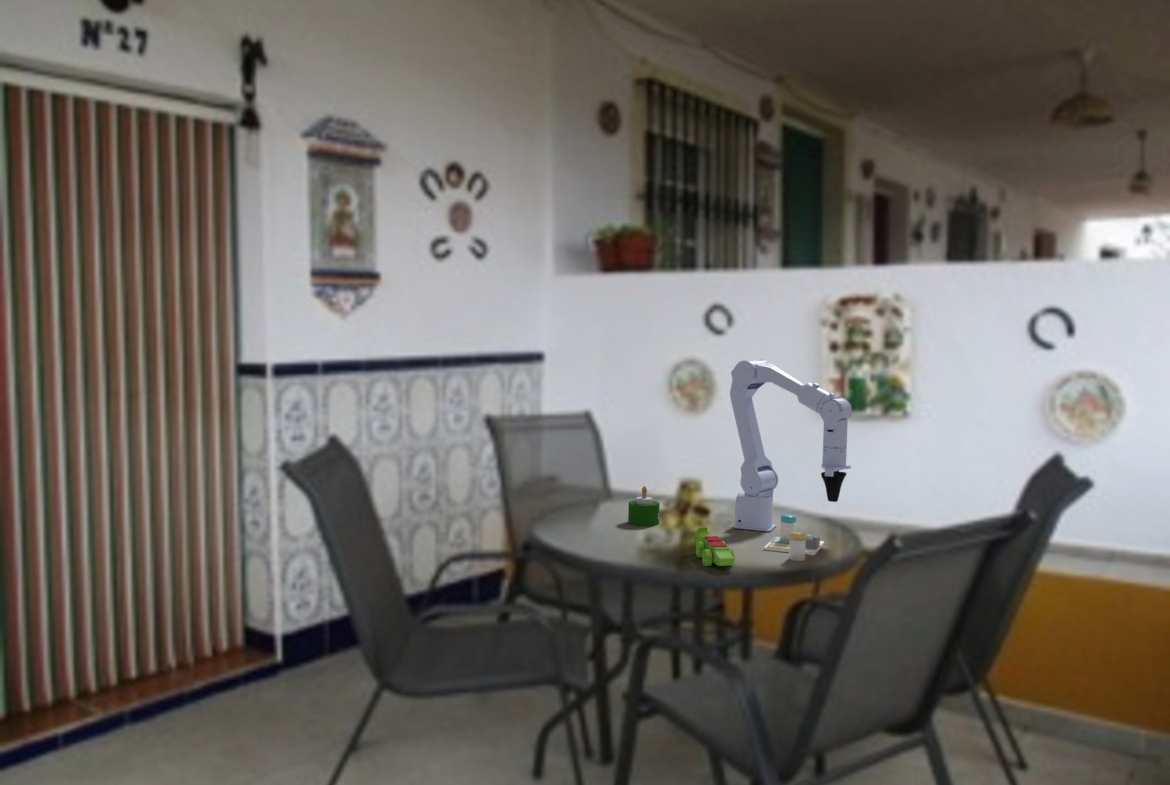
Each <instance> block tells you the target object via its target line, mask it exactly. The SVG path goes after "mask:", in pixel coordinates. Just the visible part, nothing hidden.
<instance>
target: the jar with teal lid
mask: <svg viewBox="0 0 1170 785" xmlns="http://www.w3.org/2000/svg"><path fill="white" fill-rule="evenodd" d="M796 527H797V516H796V515H794V514H787V513H785V514H781V515H780V533H779V536H780V540H781V541H784V542H789V541H790V538H789V534H790V532H797V530H796Z"/></svg>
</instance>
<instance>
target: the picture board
mask: <svg viewBox="0 0 1170 785" xmlns="http://www.w3.org/2000/svg"><path fill="white" fill-rule="evenodd" d="M824 545H825V541H823V540H821V537H818V536H813V540H806V543H805V555H811V556H815V555H816V554H818V552H819V551H820V549H821V548H822V547H823V546H824ZM763 550H764V551H770V552H771V551H772V552H781V553H789V542H784V541H781V540H780V535H776V536H774V537H773V538H772V539H771V540H770V541H769V542H768V543H767V544H766V545H764V546H763Z"/></svg>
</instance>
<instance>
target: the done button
mask: <svg viewBox="0 0 1170 785" xmlns="http://www.w3.org/2000/svg"><path fill="white" fill-rule="evenodd" d="M813 537H814V534H810V533H809V534H807V533H806V540H813Z"/></svg>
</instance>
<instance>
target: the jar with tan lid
mask: <svg viewBox="0 0 1170 785" xmlns="http://www.w3.org/2000/svg"><path fill="white" fill-rule="evenodd" d="M806 534H807V533H806V532H803V531H795V532H790V534H789V538H790V541H789V552H788V560H789V561H794V562H803V561H805V560H806V554H805V543H806Z"/></svg>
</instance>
